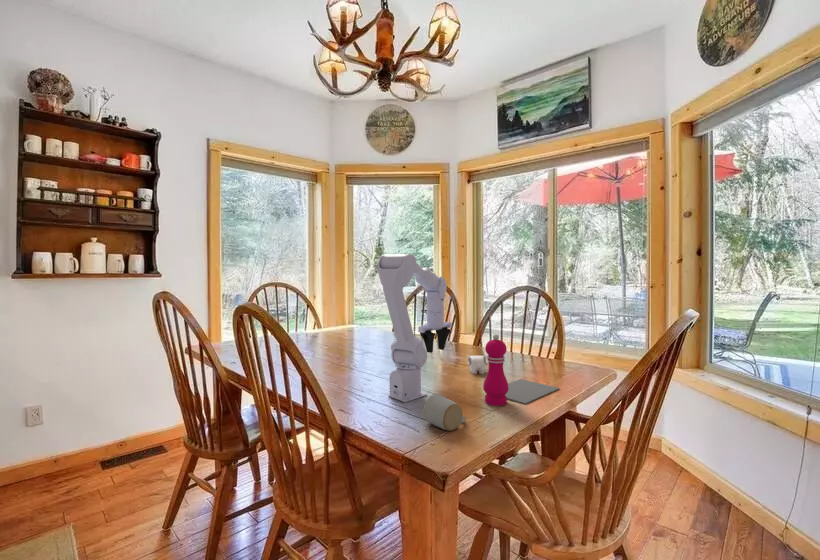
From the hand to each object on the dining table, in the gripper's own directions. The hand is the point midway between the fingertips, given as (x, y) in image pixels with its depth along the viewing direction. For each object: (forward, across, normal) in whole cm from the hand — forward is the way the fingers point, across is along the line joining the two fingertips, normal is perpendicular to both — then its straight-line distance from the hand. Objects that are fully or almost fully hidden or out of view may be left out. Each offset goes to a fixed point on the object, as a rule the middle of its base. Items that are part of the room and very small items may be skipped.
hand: (435, 350), depth 141 cm
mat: (+10, -12, +27) cm, 31 cm away
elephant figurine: (+11, -19, +3) cm, 22 cm away
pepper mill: (+11, +3, +27) cm, 29 cm away
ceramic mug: (+11, +26, +28) cm, 39 cm away
